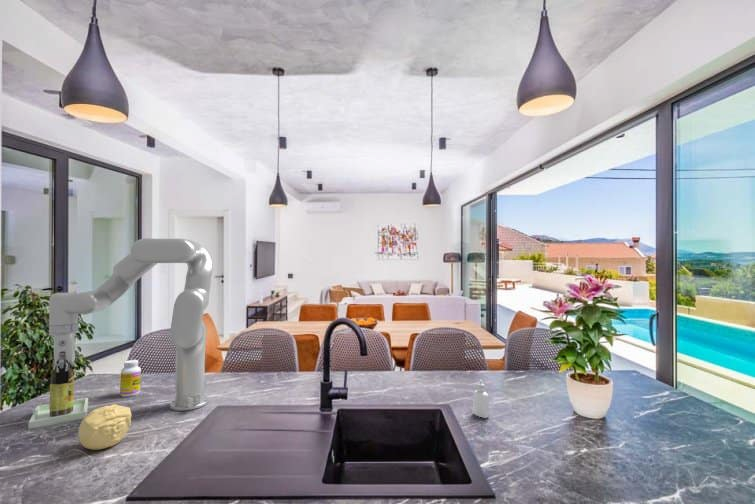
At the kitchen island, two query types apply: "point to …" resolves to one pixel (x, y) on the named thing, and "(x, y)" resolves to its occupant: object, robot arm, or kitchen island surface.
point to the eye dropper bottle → (481, 401)
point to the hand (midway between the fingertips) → (63, 380)
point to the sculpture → (104, 427)
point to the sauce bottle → (61, 395)
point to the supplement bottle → (130, 379)
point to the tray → (44, 419)
